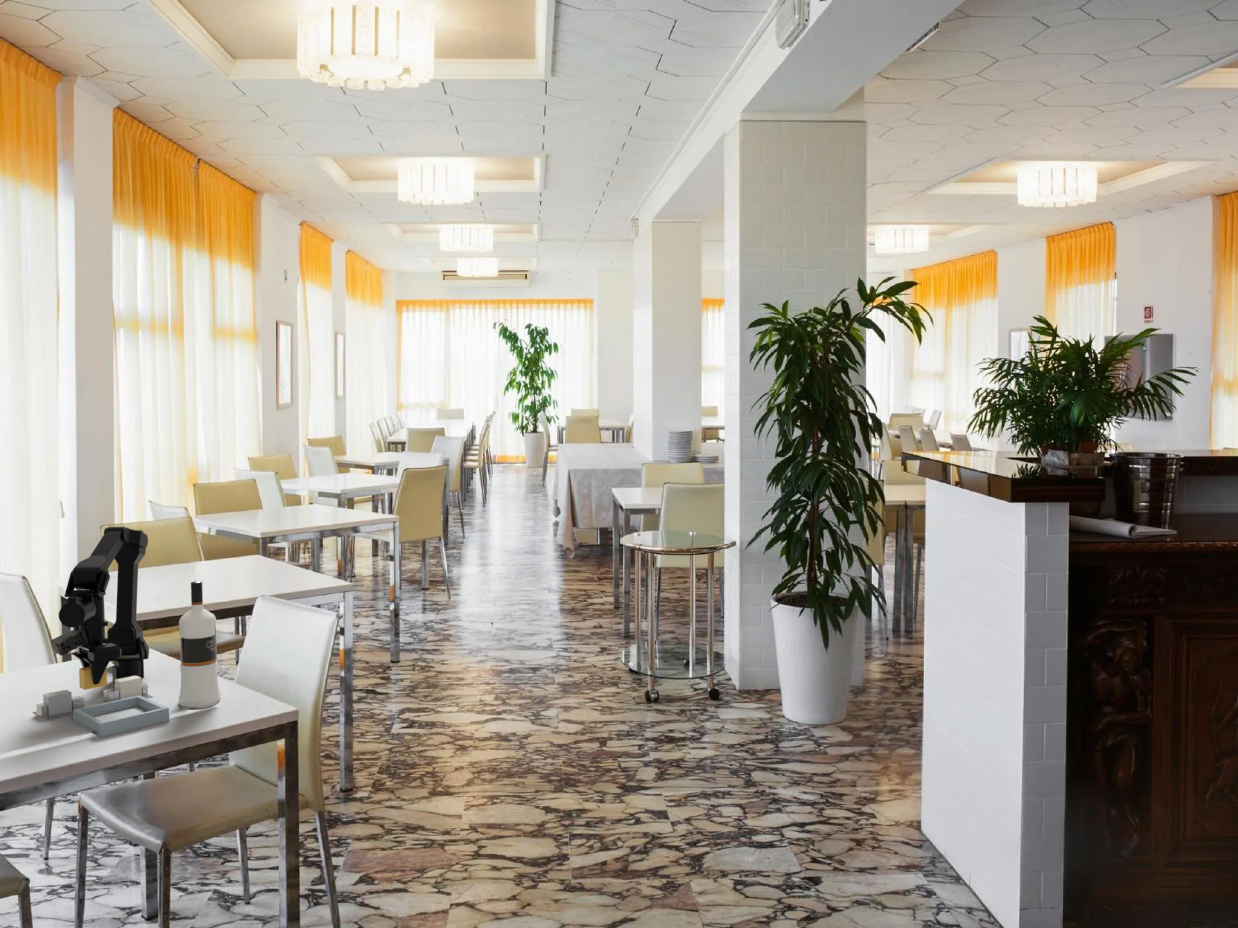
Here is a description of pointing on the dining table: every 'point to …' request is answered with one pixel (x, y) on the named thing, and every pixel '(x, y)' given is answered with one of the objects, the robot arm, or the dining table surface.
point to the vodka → (198, 654)
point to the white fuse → (128, 687)
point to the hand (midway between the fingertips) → (93, 682)
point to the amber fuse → (90, 679)
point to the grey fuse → (58, 702)
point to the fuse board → (87, 702)
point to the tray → (123, 724)
